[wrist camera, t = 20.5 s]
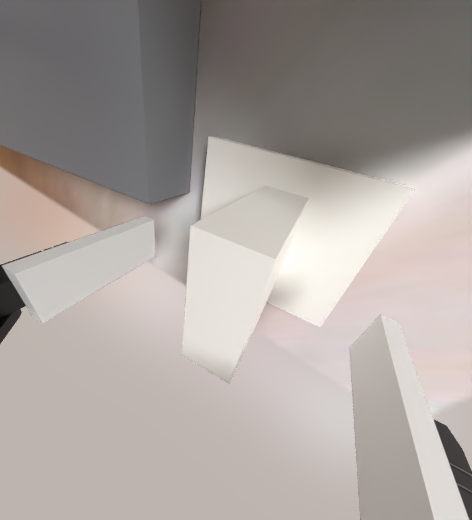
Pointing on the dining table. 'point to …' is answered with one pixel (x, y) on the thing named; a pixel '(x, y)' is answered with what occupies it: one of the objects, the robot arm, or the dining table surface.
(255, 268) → the cover
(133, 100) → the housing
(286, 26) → the dining table surface
